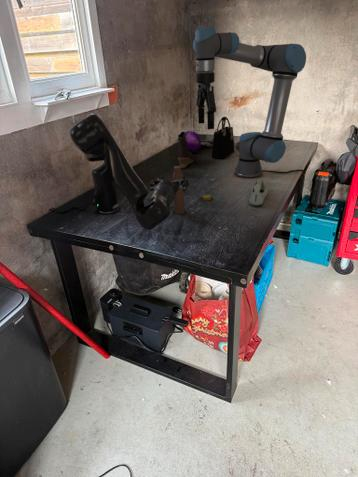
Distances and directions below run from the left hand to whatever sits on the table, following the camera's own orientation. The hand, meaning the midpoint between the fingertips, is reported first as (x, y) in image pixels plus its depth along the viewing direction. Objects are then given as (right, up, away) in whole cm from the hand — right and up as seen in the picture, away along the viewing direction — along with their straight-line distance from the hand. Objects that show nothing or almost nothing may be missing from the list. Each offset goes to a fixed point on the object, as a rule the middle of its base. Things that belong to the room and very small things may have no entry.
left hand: (172, 178), depth 131 cm
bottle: (+3, -12, +19) cm, 23 cm away
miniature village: (+59, +43, +109) cm, 131 cm away
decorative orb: (+11, +37, +102) cm, 109 cm away
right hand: (+14, +25, +13) cm, 32 cm away
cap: (+16, -4, +30) cm, 34 cm away
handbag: (+33, +33, +94) cm, 105 cm away
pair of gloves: (+26, +49, +121) cm, 133 cm away
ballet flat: (+41, -4, +29) cm, 51 cm away
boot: (+7, +25, +82) cm, 86 cm away
